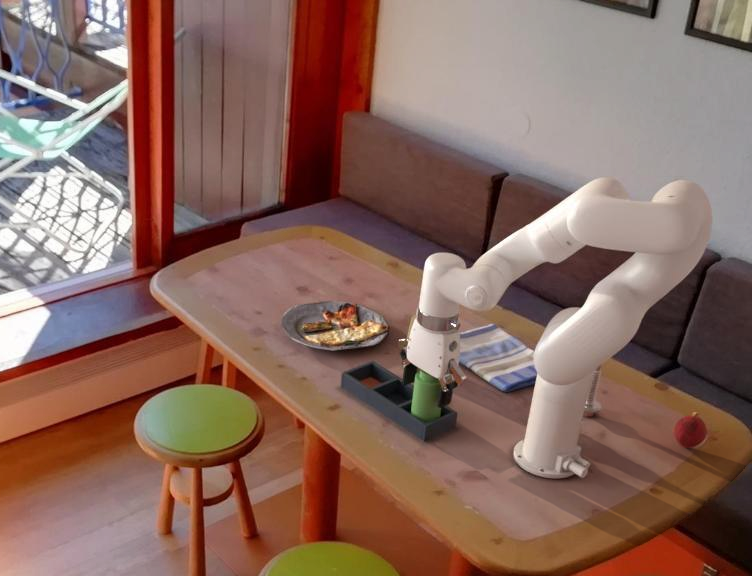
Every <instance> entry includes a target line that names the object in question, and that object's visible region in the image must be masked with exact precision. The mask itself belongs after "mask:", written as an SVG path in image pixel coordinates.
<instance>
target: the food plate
mask: <svg viewBox="0 0 752 576" xmlns="http://www.w3.org/2000/svg"><path fill="white" fill-rule="evenodd" d="M280 326H281V328H282V330H283V331H284V332H285V333H286V335H287V336H288V337H289V338H290V339H291V340H292V341H295V342H297V343H299V344H302V345H305V346H306V347H310V348H314V349H319V350H326V351H334V352H335V351H341V350H351V349H352V350H354V349H358V348H365V347H372V346H376V345H379V344H381V343H382V342H383V341H384V340H386V338H387V336H388V335H389V334H390V325H389V324H388V321H387V320H386V318H385V317H384V316H383V315H381V314H380V313H379V312H378V311H377V310H374V309H371V308H369V307H367V306H364V305H362V304H360V303H354V302H353V303H352V302H351V303H350V302H346V301H335V300H326V301H325V300H324V301H318V302H309V303H303V304H296V305H294V306H292V307H290V308H289V309H287V310H286V311H285V312H284V313H283V315H282V316H281V318H280Z"/></svg>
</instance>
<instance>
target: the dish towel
mask: <svg viewBox="0 0 752 576" xmlns="http://www.w3.org/2000/svg"><path fill="white" fill-rule="evenodd" d="M534 352H535V349H534V350H533V349H531V348H530V347H528V346H527V345H525V343H524V342H522V341H521V340H520V339H518V338H516V337H515V336H513V335H511V334H509V333H507V332H506V331H505V330H503V329H501V328H500V327H499V326H498V324H496V323H490V324H488V325H484V326H479V327H476V328H472V329H468V330H466V331H461V332H460V358H459V364H461V365H463V366H464V367H466V368H467V369H469V370H470V371H471V372H473V373H474V374H475V375H477V376H478V377H480V378H481V379H483V380H485V381H486V382H488V383H489V384H490V385H492V386H494V387H495V388H496V389H498V390H500V391H501V392H504V393H508V392H512V391H515V390H518V389H522V388H526V387H530V386H533V385H534V386H535V383H536V378H537V371H536V369H535V366H534V359H533V358H534Z"/></svg>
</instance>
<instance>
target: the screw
mask: <svg viewBox="0 0 752 576" xmlns="http://www.w3.org/2000/svg"><path fill="white" fill-rule="evenodd" d="M601 374H602V365H600V366H599V367H598V368H596V369H595V370H594V372H593V376H592V380H591V384H590V389H589V393H588V397H587V400H586V405H585V409H584V414H583V417H587V418H588V417H593V416H594V413H599V412H600V411H601V409H602V405H601V403H600V402H599V401H598V400H596V397H597V392H598V389H599V384H600V379H601V376H602V375H601Z"/></svg>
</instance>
